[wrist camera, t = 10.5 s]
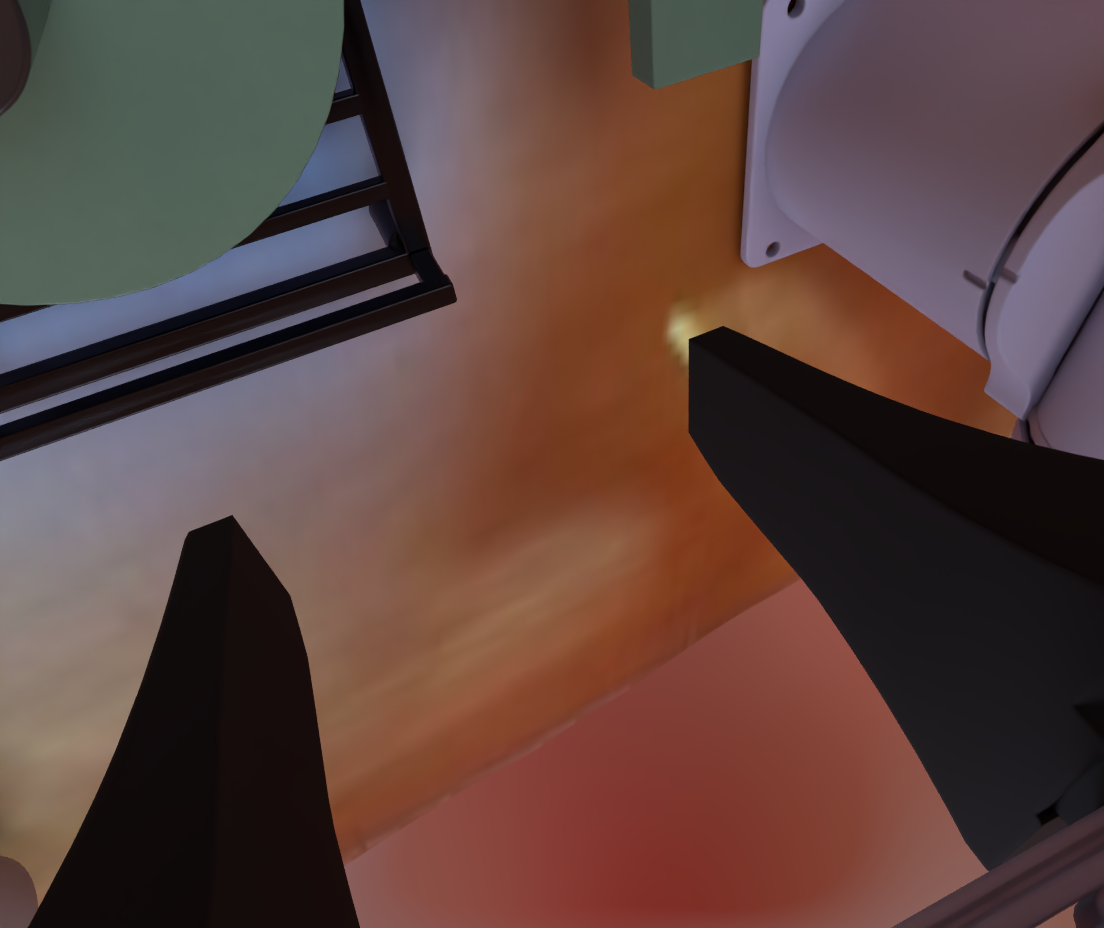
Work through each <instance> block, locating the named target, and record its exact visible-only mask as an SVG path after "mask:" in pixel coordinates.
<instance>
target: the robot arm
mask: <svg viewBox="0 0 1104 928" xmlns="http://www.w3.org/2000/svg"><path fill="white" fill-rule="evenodd" d="M790 1H791V0H763V11H762V26H761V41H760V55H759V57H757V58H754V59H752V68H751V85H750V102H749V118H748V135H747V152H746V169H745V186H744V203H743V220H742V236H741V253H740V254H741V259H742V261H743V262H744V263H745V264H747V265H748V266H749V267H752V268H755V267H759V266H762V265H765V264H767V263H770V262H773V261H775V260H778V259H781V258H784V257H786V256H789V255H792V254H794V253H797V252H800V251H803V250H805V249H808V248H811V247H814V246H816V245H819V244H822V243H824V244H826V245H827V246H828V247H830V248H831V249H833V250H834V251H835V252H837V253H838V254H840V255H841V256H842V257H844V258H845V259H847V260H848V261H849V262H851V263H852V264H854V265H855V266H856V267H858V268H859V269H861V270H862V271H863V272H865V273H866V274H868V275H869V276H871V277H872V278H873V279H875V280H876V281H878V282H879V283H880V284H882V285H883V286H885V287H886V288H887V289H889V290H890V291H892V292H893V293H894V294H896V295H897V296H899V297H900V298H901V299H903V300H904V301H906V302H907V303H908V304H910V305H911V306H913V307H914V308H915V309H917V310H918V311H920V312H921V313H922V314H924V315H925V316H927V317H928V318H929V319H931V320H932V321H934V322H935V323H936V324H938V325H939V326H941V327H942V328H943V329H945V330H946V331H948V332H949V333H950V334H952V335H953V336H955V337H956V338H958V339H959V340H960V341H962V342H963V343H965V344H966V345H967V346H969V347H970V348H972V349H973V350H974V351H976V352H977V353H979V354H980V355H981V356H983V357H984V358H986V359H987V360H988V361H990V362H991V372H990V376H989V379H988V381H987V383H986V386H985V389H984V392H985V393H986V394H988V395H989V396H990V397H992V398H993V399H994V400H996V401H997V402H998V403H1000V404H1001V405H1002V406H1004V407H1005V408H1006V409H1008V410H1009V411H1010V412H1012V413H1013V414H1014V415H1016V416H1017V417H1018V420H1017V421H1016V423H1015V426H1014V429H1013V433H1012V437H1011V438H1007V437H1004V436H1000V435H996V434H993V433H990V432H986V431H983V430H980V429H976V428H973V427H970V426H967V425H963V424H960V423H957V422H953V421H950V420H947V419H944V418H941V417H938V416H935V415H932V414H929V413H926V412H923V411H920V410H918V409H915V408H912V407H910V406H907V405H904V404H902V403H899V402H896V401H894V400H891V399H889V398H886V397H883V396H881V395H878V394H876V393H873V392H871V391H868V390H866V389H863V388H861V387H858V386H856V385H854V384H851V383H849V382H847V381H844V380H842V379H840V378H837V377H835V376H833V375H830V374H828V373H826V372H824V371H821V370H819V369H817V368H815V367H812V366H810V365H808V364H806V363H804V362H801V361H799V360H797V359H795V358H793V357H791V356H788V355H786V354H784V353H782V352H780V351H778V350H775V349H773V348H771V347H769V346H767V345H765V344H762V343H760V342H758V341H756V340H754V339H752V338H749V337H747V336H745V335H743V334H740V333H738V332H736V331H734V330H731V329H729V328H727V327H724V326H722V327H719V328H717V329H714V330H712V331H709V332H706V333H704V334H701V335H699V336H696V337H693V338H691V339H689V434H690V435H691V437H692V439H693V440H694V442H695V443H696V445H697V447H698V448H699V450H700V452H701V453H702V455H703V456H704V458H705V460H706V461H707V463H708V464H709V466H710V467H711V469H712V470H713V472H714V473H715V475H716V476H717V478H718V480H719V481H720V482H721V484H722V485H723V486H724V487H725V488H726V490H727V491H728V492H729V493H730V495H731V496H732V497H733V498H734V499H735V501H736V502H737V503H738V504H739V505H740V507H741V508H742V509H743V510H744V511H745V513H746V514H747V515H748V516H749V517H750V518H751V520H752V521H753V522H754V523H755V524H756V526H757V527H758V528H759V529H760V530H761V531H762V533H763V534H764V535H765V536H766V537H767V539H768V540H769V541H770V542H771V543H772V544H773V546H774V547H775V548H776V549H777V550H778V551H779V553H780V554H781V555H782V556H783V557H784V559H785V560H786V561H787V562H788V563H789V564H790V566H791V567H792V568H793V569H794V570H795V572H796V573H797V574H798V575H799V576H800V577H801V579H802V580H803V581H804V582H805V584H806V585H807V586H808V587H809V589H810V590H811V591H812V593H813V594H814V595H815V597H816V598H817V599H818V600H819V602H820V603H821V605H822V606H823V608H824V609H825V611H826V612H827V614H828V615H829V616H830V618H831V619H832V621H833V622H834V624H835V625H836V627H837V628H838V630H839V631H840V633H841V634H842V636H843V637H844V639H845V640H846V642H847V643H848V644H849V646H850V647H851V649H852V650H853V652H854V654H855V655H856V657H857V658H858V660H859V661H860V663H861V664H862V666H863V667H864V669H865V670H866V672H867V674H868V675H869V677H870V678H871V680H872V682H873V683H874V684H875V686H876V688H877V689H878V691H879V692H880V694H881V695H882V697H883V699H884V700H885V702H886V704H887V705H888V707H889V709H890V710H891V712H892V714H893V715H894V717H895V719H896V720H897V722H898V724H899V725H900V727H901V729H902V730H903V732H904V734H905V735H906V737H907V738H908V740H909V742H910V743H911V745H912V747H913V748H914V750H915V752H916V753H917V755H918V757H919V759H920V760H921V762H922V764H923V766H924V768H925V769H926V771H927V773H928V775H929V777H930V778H931V780H932V782H933V784H934V785H935V787H936V789H937V791H938V793H939V794H940V796H941V798H942V800H943V801H944V803H945V805H946V807H947V808H948V810H949V812H950V814H951V816H952V818H953V820H954V822H955V823H956V825H957V827H958V829H959V831H960V833H961V835H962V837H963V839H964V841H965V842H966V843H967V845H968V846H969V847H970V849H971V850H972V851H973V853H974V854H975V855H976V856H977V858H978V859H979V860H980V862H981V863H982V864H983V866H984V867H985V868H986V869H987V870H988V871H989V872H988V873H986V874H984V875H982V876H981V877H979V878H977V879H975V880H974V881H972V882H970V883H968V884H967V885H965V886H963V887H961V888H960V889H958V890H956V891H954V892H953V893H951V894H949V895H947V896H946V897H944V898H942V899H941V900H939V901H937V902H935V903H934V904H932V905H930V906H929V907H927V908H925V909H923V910H921V911H920V912H918V913H916V914H914V915H913V916H911V917H909V918H907V919H906V920H904V921H902V922H900V923H899V924H897V925H895V926H893V927H892V928H1035V927H1037V926H1039V925H1040V924H1042V923H1044V922H1045V921H1047V920H1049V919H1050V918H1052V917H1054V916H1055V915H1057V914H1058V913H1060V912H1062V911H1063V910H1065V909H1067V908H1068V907H1070V906H1072V905H1074V904H1075V903H1077V902H1078V903H1077V905H1075V908H1074V915H1073V916H1074V921H1075V924H1076V928H1104V0H796V3H795V6H794V8H793V9H792V11H791V12H789V13H788V10H787V9H788V5H789V2H790ZM771 243H773V244H772V246H771V247H770V249H768V250H767V248H768V246H769V245H770V244H771ZM28 928H360V926H359V922H358V919H357V915H356V911H355V907H354V904H353V900H352V896H351V893H350V889H349V885H348V881H347V877H346V873H345V869H344V865H343V861H342V857H341V853H340V849H339V845H338V841H337V838H336V834H335V830H334V825H333V819H332V814H331V809H330V804H329V798H328V792H327V785H326V778H325V771H324V764H323V757H322V750H321V743H320V736H319V729H318V723H317V716H316V709H315V702H314V695H313V689H312V682H311V675H310V669H309V663H308V657H307V653H306V649H305V646H304V642H303V638H302V635H301V631H300V627H299V624H298V620H297V617H296V614H295V610H294V607H293V603H292V600H291V596H290V595H289V593H288V592H287V590H286V589H285V588H284V586H283V585H282V583H281V582H280V581H279V579H278V578H277V576H276V575H275V574H274V572H273V571H272V570H271V568H270V567H269V565H268V564H267V563H266V561H265V560H264V558H263V557H262V556H261V554H260V553H259V551H258V550H257V549H256V547H255V546H254V545H253V543H252V542H251V540H250V539H249V538H248V536H247V535H246V533H245V532H244V531H243V529H242V528H241V526H240V525H239V524H238V522H237V521H236V519H235V518H234V517H233V515H231V516H229V517H226V518H224V519H221V520H218V521H216V522H213V523H211V524H208V525H205V526H203V527H200V528H198V529H195V530H192V531H190V532H189V533H188V535H187V537H186V539H185V541H184V545H183V548H182V552H181V556H180V559H179V563H178V567H177V570H176V574H175V578H174V581H173V585H172V588H171V592H170V595H169V599H168V602H167V606H166V609H165V612H164V616H163V619H162V622H161V626H160V629H159V632H158V635H157V638H156V641H155V644H154V647H153V650H152V653H151V656H150V659H149V662H148V665H147V668H146V671H145V674H144V677H143V680H142V683H141V686H140V688H139V691H138V694H137V696H136V699H135V701H134V704H133V707H132V709H131V712H130V714H129V717H128V720H127V722H126V725H125V727H124V730H123V732H122V735H121V738H120V740H119V743H118V745H117V748H116V750H115V753H114V755H113V757H112V760H111V762H110V764H109V767H108V769H107V771H106V774H105V776H104V778H103V781H102V783H101V785H100V787H99V789H98V792H97V794H96V796H95V798H94V800H93V802H92V805H91V807H90V809H89V811H88V813H87V815H86V817H85V819H84V821H83V823H82V825H81V828H80V830H79V832H78V834H77V836H76V838H75V840H74V842H73V844H72V846H71V848H70V850H69V851H68V853H67V855H66V857H65V859H64V861H63V863H62V865H61V867H60V869H59V870H58V872H57V874H56V876H55V878H54V880H53V882H52V884H51V886H50V887H49V889H48V891H47V893H46V895H45V897H44V899H43V901H42V903H41V904H40V906H39V908H38V910H37V912H36V913H35V915H34V917H33V919H32V921H31V922H30V924H29V926H28Z"/></svg>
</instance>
